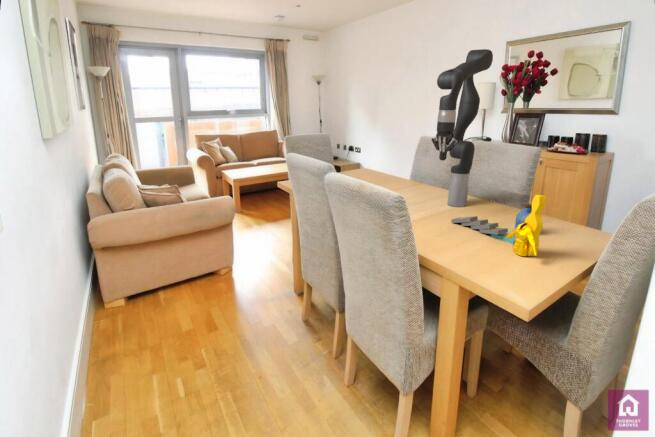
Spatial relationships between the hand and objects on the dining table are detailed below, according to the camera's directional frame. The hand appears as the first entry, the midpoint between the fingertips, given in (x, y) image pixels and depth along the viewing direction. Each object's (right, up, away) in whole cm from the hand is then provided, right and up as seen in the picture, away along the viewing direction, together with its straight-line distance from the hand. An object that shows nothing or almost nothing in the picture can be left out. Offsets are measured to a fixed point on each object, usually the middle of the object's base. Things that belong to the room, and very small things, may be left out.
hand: (442, 160), depth 164 cm
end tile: (+17, -33, -14) cm, 40 cm away
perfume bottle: (+31, -32, -11) cm, 46 cm away
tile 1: (+6, -27, +1) cm, 28 cm away
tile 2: (+9, -29, -3) cm, 30 cm away
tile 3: (+12, -30, -7) cm, 33 cm away
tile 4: (+14, -31, -11) cm, 36 cm away
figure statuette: (+20, -40, -32) cm, 54 cm away
